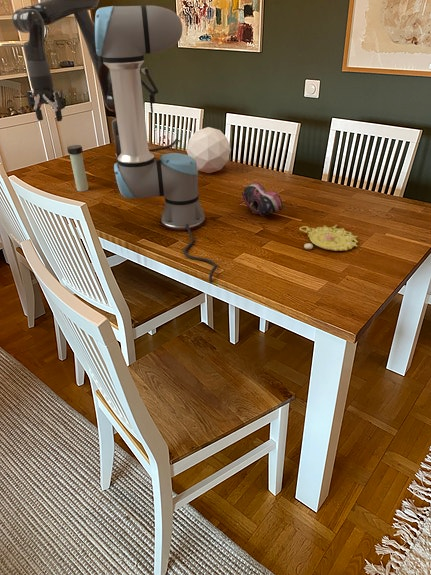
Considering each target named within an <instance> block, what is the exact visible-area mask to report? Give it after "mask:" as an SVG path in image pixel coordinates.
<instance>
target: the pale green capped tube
mask: <svg viewBox="0 0 431 575" xmlns="http://www.w3.org/2000/svg"><path fill="white" fill-rule="evenodd" d="M69 158H70V163H71V169H72V173H73V177H74V183H75V187H76V191H77V192H80V193H81V192H86V191H88V190H89V184H88V179H87V174H86V169H85V162H84V157H83V152H82V153H79V154H69Z"/></svg>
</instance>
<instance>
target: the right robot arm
mask: <svg viewBox="0 0 431 575" xmlns="http://www.w3.org/2000/svg"><path fill="white" fill-rule="evenodd" d="M94 24H95V43H96V53H97V55H98V56H102V57H103V63H104V64H105V65H106V66H107V67H108V68H109V69H110V74H111V83H110V86H109V89H108V92H107V95H108V96H111V97H112V100H113V105H114V106H115V110H116V111H115V117H116V119H117V124H118V132H119V139H120V146H121V154H120V155H119V156H118V158H117V157H116V160H117V159H118V163H117V162H115V163H114V164H113V170H114V175H115V181H116V183H117V187H118V190H119V192H120V195H121V196H122V198H124V199H134V200H135V199H136V200H138V199H146V198H157V197H164V204H163V209H162V213H161V219H160V220H161V225H162V227H163V228H165V229H167V230H170V231H175V232H176V231H177V232H185V231H186V232H187V233H188V235H189V237H190V242H189V244H188V245H187V246H185V247H184V249H183V255H184V256H185V257H187V258H189V259H192V260H197V261H202V262H207V263H209V264H211V265H212V266H213V267H212V269H211V270H210V272H209V274H208V280H209V281H208V283H209V284H212V283H213V275H214V272H215V271H216V270H217V264H216V262H214V261H213V260H211V259H209V258H205V257H199V256H193V255H191V254H188V253H187V251H188V249H189V248H191V247H192V246H193V244H194V235H193V234H192V230H195V229H198V228H201V227H202V226H203V225H204V224H205V223H206V215H205V212H204V210H203V208H202V204H201V202H200V196H199V179H198V177H199V176H198V174H199V171H198V170H197V163H196V161H195V159H194V158H192V157H191V156H188V154H184V153H178V152H170V153H169V152H168V153H163V154H162V155H161V156H160V159H157V160H156V159H155V154H153V153H152V151H149V143H148V142H149V141H148V134H147V132H148V131H147V125H146V124H147V123H146V113H145V106H144V97H143V96H144V95H143V87H144V88H145V89H146V90H147V91H148V93H149V94H148V96H149V105H150V114H153V113H154V107H153V104H155V103H156V100H155V95H157V94H158V93H159V89H158V87H157V85H156V84H155V82H154V80H153V78H152V76H151V75H150V73H149V69H148V67H143V68H141V66H142V65H143V64H144V63H145V55H146V54H147V55H148V54H149V55H150V54H157V53H161V52H164V51H168V50H169V49H171V48H173V47H174V46H176V45H177V44H178V43H179V42H180V40H181V39H182V35H183V23H182V20H181V18H180V16H179V15H178V14H177V13H176V12H174V11H173V10H172V9H170V8H166V7H163V6H158V5H148V4H147V5H127V6H126V5H119V6H117V5H111V6H103V7H99V8H98V9H97V10H96V12H95V15H94ZM142 73H143V75H145V76H146V78H147V80H148V82H149V83H150V85H151V87H152V88H151V87H150V86H149V85H148V84H147V82H145V81H144V79H142V77H141V76H142V75H141V74H142ZM112 89H113V93H111V90H112Z"/></svg>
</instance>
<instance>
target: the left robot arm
mask: <svg viewBox="0 0 431 575" xmlns="http://www.w3.org/2000/svg"><path fill="white" fill-rule="evenodd" d="M99 3H100V0H42V1H40V2H38V3H36V4H33V5H29V6H24V7H21V8H18V9H16V10H15V11H14V12H13V13H12V17H11V22H12V25H13V27H14V29H16V31H18V32H20V33H22V34H23V33H24V34H28V40H27V41H25V42H23V44H22V46H23V52H24V56H25V60H26V68H27V73H28V77H29V82H30V85H31V90H27V91H26V97H27V102H28V107H29V109H32V110H34V112H35V116H36V119H37V120H38V121H43V120H44V117H43V112H42V109H41V108H42V106H43V105H44V104H45V105H49V106H50V107H51V108H52V109H53V110H54V114H55V119H56V122H62V120H63V115H62V110H63V109H66V105H65V102H64V97H63V92H62V91H61V90H59V91H54V83H53V78H52V73H51V69H50V65H49V62H48V57H47V54H46V48H45V41H46V40H45V36H46V35H45V34H46V26H50V25H52V24H55V23H56V22H59V21H60V20H62V19H65V18H66V17H69V16H72V15H73V16H74V19H75V20H76V22H77V26H78V27H79V30H80V32H81V35H82V37H83V40H84V43H85V45H86V46H85V47H86V48H87V52H88V55H89V58H90V60H91V63H92V66H93V68H94V70H95V74H96V78H97V80H98V83H99V87H100V90H101V95H102V100H103V103H104V105H105V107H106V108H107V110H109V111H111V112H116V110H115V106H114V105H113V100H112V97H111V96H108V95H107V92H108V89H109V86H110V83H111V74H110V69H109V68H108V67H107V66H106V65H105V64H104V63H103V57H102V56H98V55H97V53H96V43H95V22H94V21H93V19H92V16H90V13H89V11H91V10H94V9H96V8H97V7H98V5H99ZM32 89H33V90H32ZM111 93H113V89H112V90H111ZM111 126H112V127H111V128H112V135H113V141H114V142H113V143H114V150H115V153H114V154H115V157H116V163H118V159H117V158H118V156H119V155H120V154H121V146H120V139H119V132H118V124H117V118H114V119H113V120H112V121H111ZM178 139H179V138H175V139H174V140H173V141H172V142H171V143H170V144H169V145H165V146H161V147H156V148H150V149H149V148H148V150H149V151H150V152H154V151H159V150H164V149H165V150H166V149H169V148H170V147H172V146H174V145H175V144H176V142H180V139H179V140H178Z"/></svg>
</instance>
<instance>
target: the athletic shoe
mask: <svg viewBox="0 0 431 575" xmlns="http://www.w3.org/2000/svg"><path fill="white" fill-rule="evenodd" d="M241 197H242V199H243V201H238V203H239V204H241V205H245V206H246V207H247V208H248V210H249V211H250V210H251V213H252V214H255V215H260V217H266V216H267V215H270V214H274V213H275V212H279V211H282V210H283V209H284V205H283V201H282V198H281V196H280V195H279V194H278V192H277V191H274V190H269V191H267V190H266V189H265V187H264V186H263V185H262V184H261V183H258V182H251V183H249V184H247V186H246V187H245V188H244V190H243V191H242V192H241Z"/></svg>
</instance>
